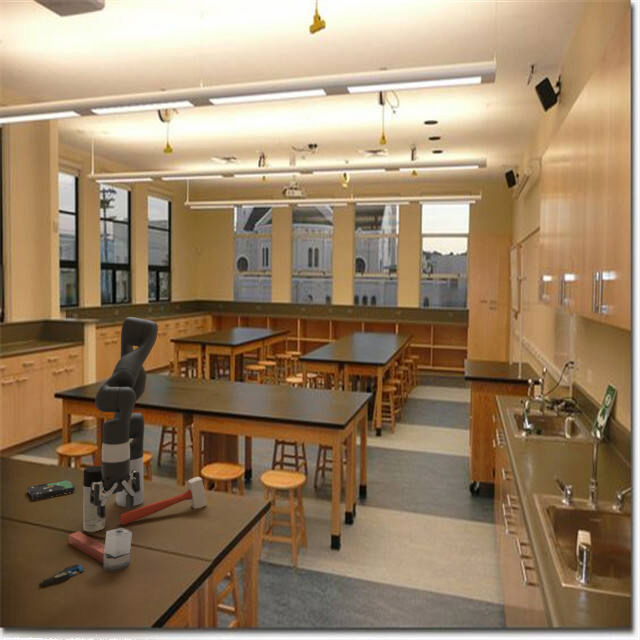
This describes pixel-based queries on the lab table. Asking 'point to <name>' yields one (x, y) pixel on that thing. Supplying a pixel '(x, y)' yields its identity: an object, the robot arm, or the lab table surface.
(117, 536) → the cube with square hole
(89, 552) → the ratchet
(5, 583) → the lab table surface
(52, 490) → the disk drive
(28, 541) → the lab table surface
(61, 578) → the micrometer
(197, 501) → the mallet
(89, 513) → the spray can
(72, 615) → the lab table surface
